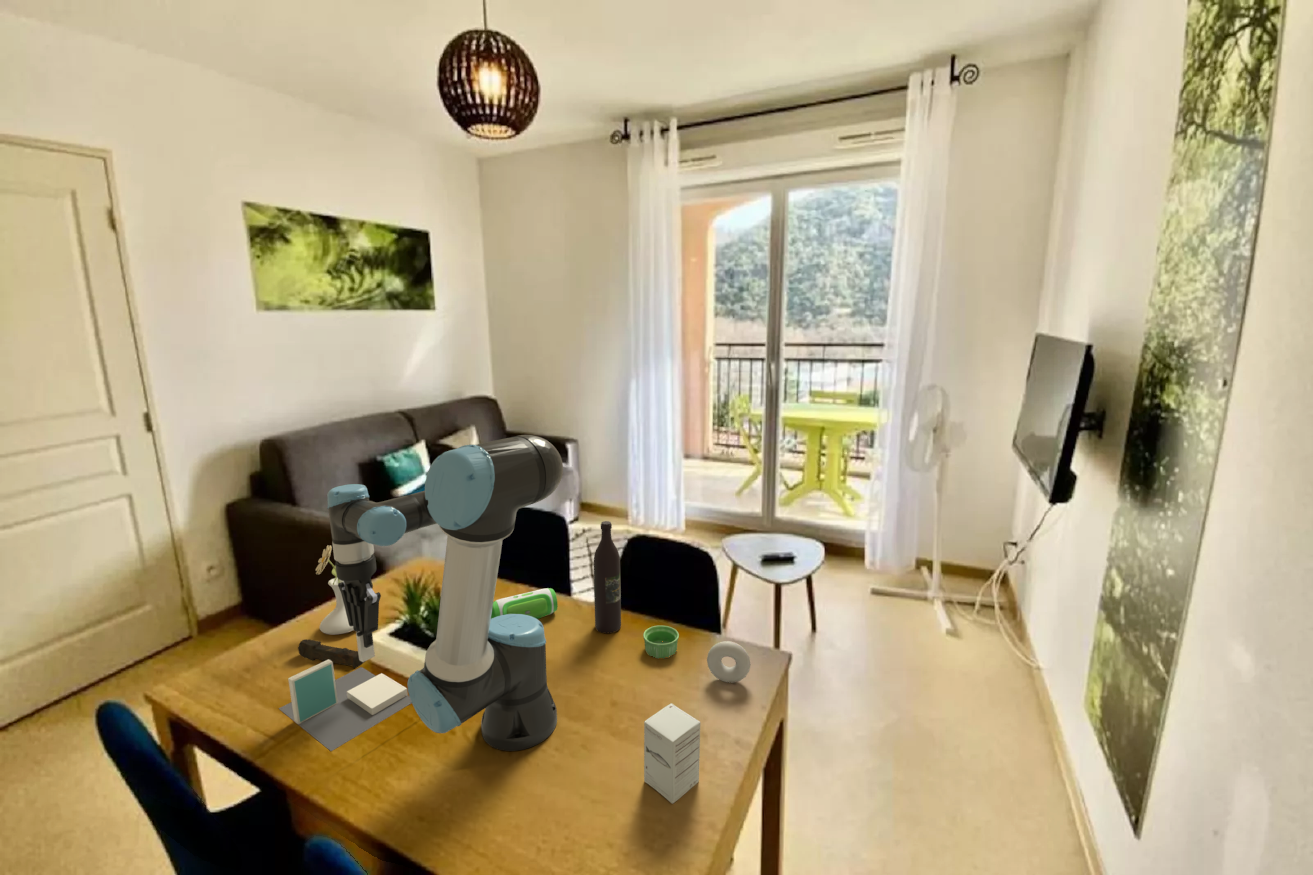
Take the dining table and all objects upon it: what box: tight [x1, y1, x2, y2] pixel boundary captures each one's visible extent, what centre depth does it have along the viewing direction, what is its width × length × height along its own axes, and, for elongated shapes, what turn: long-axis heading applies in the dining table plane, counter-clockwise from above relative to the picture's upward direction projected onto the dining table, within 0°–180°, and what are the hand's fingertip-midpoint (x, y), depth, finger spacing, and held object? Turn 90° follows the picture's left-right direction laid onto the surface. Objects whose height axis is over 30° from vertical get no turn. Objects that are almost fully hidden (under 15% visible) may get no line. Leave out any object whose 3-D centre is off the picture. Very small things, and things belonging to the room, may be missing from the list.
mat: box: [278, 666, 412, 752], centre depth 122 cm, size 22×18×1 cm
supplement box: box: [643, 702, 701, 805], centre depth 101 cm, size 7×7×13 cm
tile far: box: [347, 672, 409, 715], centre depth 124 cm, size 2×8×10 cm
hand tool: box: [297, 639, 366, 670], centre depth 139 cm, size 19×4×5 cm, turn 72°
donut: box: [706, 640, 752, 683], centre depth 130 cm, size 10×4×10 cm, turn 76°
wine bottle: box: [593, 520, 622, 634], centre depth 151 cm, size 7×7×30 cm
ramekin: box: [642, 625, 680, 659], centre depth 143 cm, size 9×9×4 cm
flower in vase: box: [315, 544, 354, 636], centre depth 151 cm, size 13×11×25 cm
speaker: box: [491, 587, 559, 620], centre depth 158 cm, size 18×7×8 cm, turn 120°
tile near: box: [287, 659, 338, 725], centre depth 119 cm, size 2×8×10 cm, turn 146°
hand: (367, 658), depth 124 cm, fingers closed
